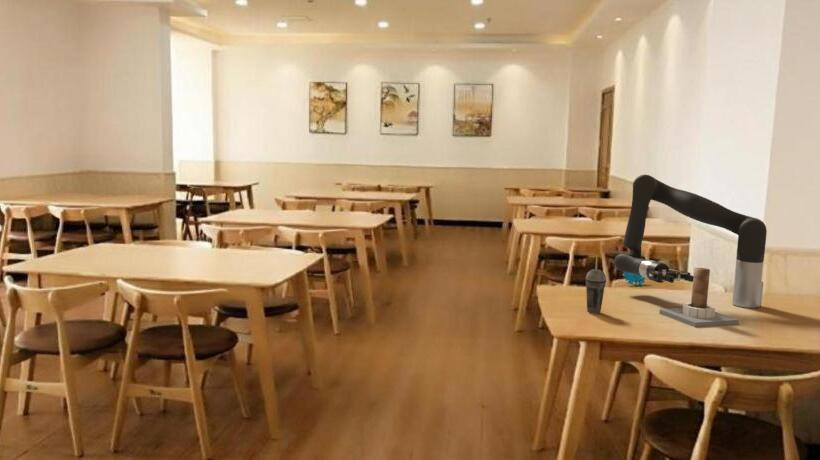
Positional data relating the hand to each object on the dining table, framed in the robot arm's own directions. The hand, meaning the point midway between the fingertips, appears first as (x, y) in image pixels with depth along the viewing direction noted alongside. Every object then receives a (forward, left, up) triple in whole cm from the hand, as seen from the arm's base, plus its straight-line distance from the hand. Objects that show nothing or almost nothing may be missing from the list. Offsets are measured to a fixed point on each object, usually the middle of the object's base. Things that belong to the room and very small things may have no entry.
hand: (683, 279), depth 242 cm
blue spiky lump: (-13, -45, -12) cm, 49 cm away
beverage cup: (+32, -6, -12) cm, 35 cm away
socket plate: (0, +9, -12) cm, 15 cm away
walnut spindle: (0, +9, -10) cm, 14 cm away
